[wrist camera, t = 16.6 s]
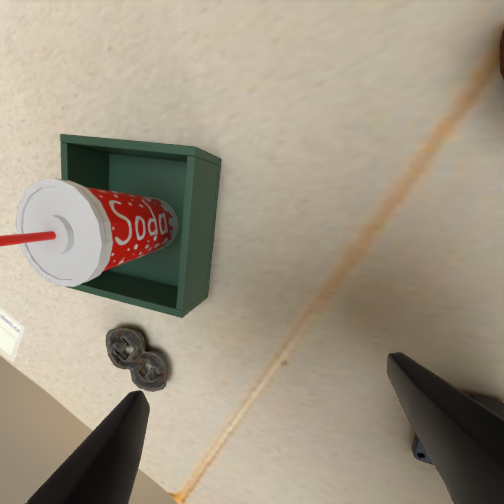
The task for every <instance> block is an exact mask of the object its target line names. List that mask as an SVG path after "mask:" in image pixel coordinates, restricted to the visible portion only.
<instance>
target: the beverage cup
mask: <svg viewBox="0 0 504 504" xmlns="http://www.w3.org/2000/svg"><path fill="white" fill-rule="evenodd" d="M16 229H17V234H15V235H5V236H0V246H7V245H14V244H20V247H21V249H22V251H23V253H24V255H25V257H26V259H27V261H28V262H29V264H30V265H31V266H32V267H33V268H34V269H35V271H36V272H37V273H38V274H39V275H40V276H41V277H42V278H44V279H45V280H47V281H49V282H51V283H53V284H55V285H57V286H68V287H75V286H78V285H80V284H82V283H84V282H88V281H90V280H92V279H94V278H95V277H97V276H99V275H100V274H101V273H102V272H103V271H105V270H108V269H111V268H113V267H116V266H119V265H121V264H124V263H126V262H129V261H132V260H134V259H137V258H139V257H142V256H145V255H147V254H150V253H152V252H155V251H158V250H160V249H163V248H165V247H167V246H169V245H171V243H172V242H173V241H174V240H175V238H176V236H177V233H178V229H179V226H178V217H177V215H176V213H175V211H174V209H173V208H172V207H171V206H170V205H169V204H168V203H167V202H166V201H164V200H162V199H159V198H155V197H148V196H142V195H135V194H128V193H121V192H115V191H108V190H101V189H94V188H87V187H84V186H81V185H79V184H77V183H74V182H72V181H70V180H69V181H64V180H62V179H56V178H55V179H45V180H38V181H37V182H35V183H34V184H33V185H31V186H30V187H29V188H27V189H26V190H25V192H24V194H23V196H22V198H21V200H20V202H19V204H18V207H17V218H16Z"/></svg>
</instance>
